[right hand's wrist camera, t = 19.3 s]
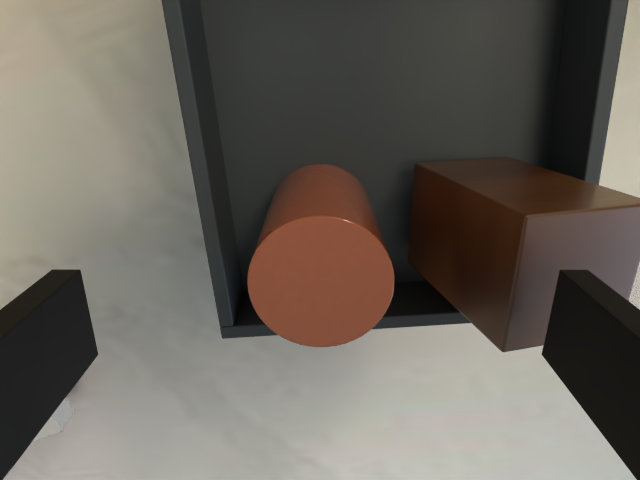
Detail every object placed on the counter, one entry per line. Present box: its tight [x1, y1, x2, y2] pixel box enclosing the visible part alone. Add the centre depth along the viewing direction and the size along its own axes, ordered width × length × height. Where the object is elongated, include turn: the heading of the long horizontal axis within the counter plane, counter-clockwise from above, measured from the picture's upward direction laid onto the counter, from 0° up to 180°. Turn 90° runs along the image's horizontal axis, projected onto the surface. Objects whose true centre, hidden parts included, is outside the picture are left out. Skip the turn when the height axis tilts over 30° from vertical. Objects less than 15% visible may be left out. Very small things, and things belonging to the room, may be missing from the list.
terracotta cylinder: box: [247, 164, 395, 347], centre depth 17 cm, size 5×5×7 cm
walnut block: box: [408, 157, 640, 352], centre depth 17 cm, size 4×4×7 cm
